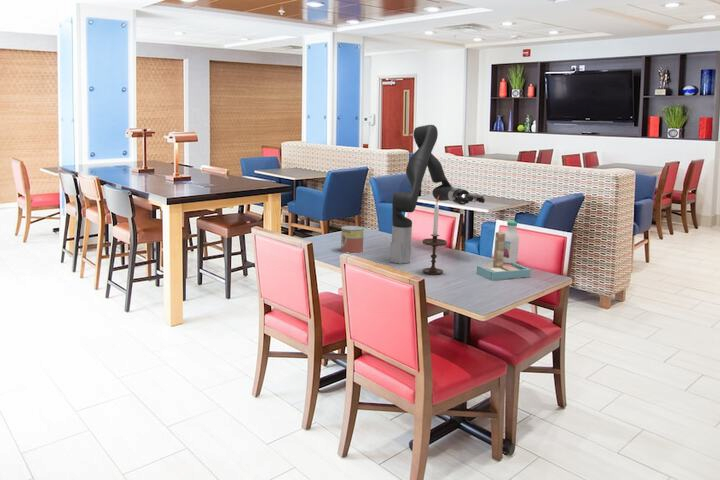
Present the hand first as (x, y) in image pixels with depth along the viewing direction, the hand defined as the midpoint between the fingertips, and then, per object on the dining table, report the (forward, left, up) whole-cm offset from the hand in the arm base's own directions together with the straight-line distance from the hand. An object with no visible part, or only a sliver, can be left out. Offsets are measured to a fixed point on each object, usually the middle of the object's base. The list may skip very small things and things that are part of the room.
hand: (476, 201), depth 302 cm
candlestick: (-29, +4, -30) cm, 42 cm away
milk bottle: (+15, -12, -30) cm, 36 cm away
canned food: (-23, +56, -30) cm, 67 cm away
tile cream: (-13, -20, -30) cm, 38 cm away
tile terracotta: (-6, -23, -30) cm, 39 cm away
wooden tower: (-8, -18, -30) cm, 36 cm away
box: (-10, -21, -30) cm, 38 cm away
